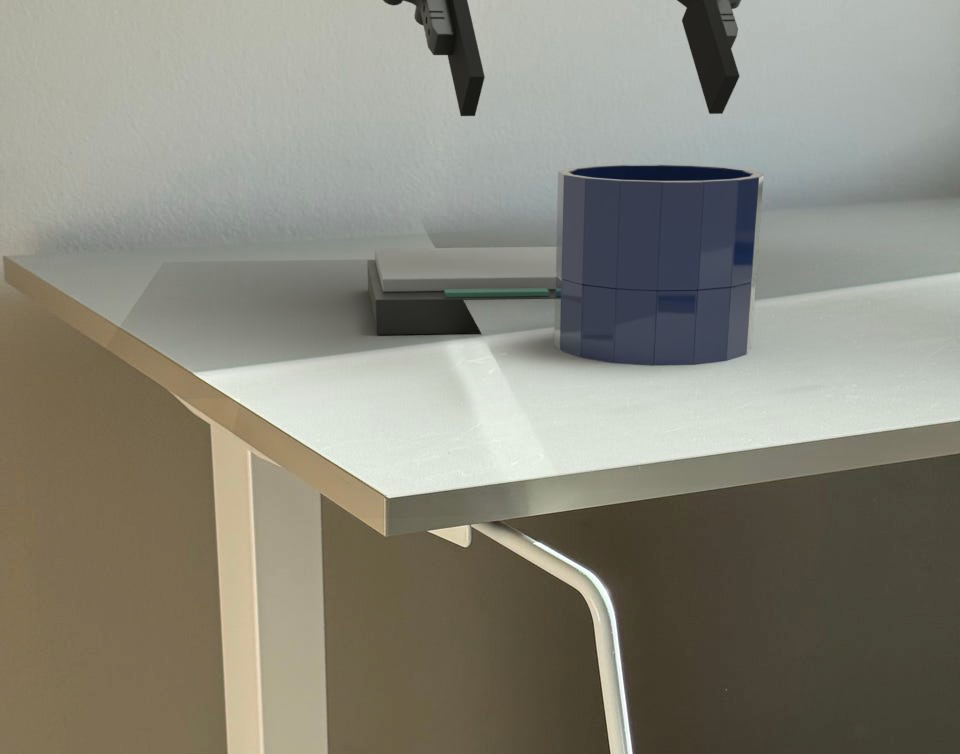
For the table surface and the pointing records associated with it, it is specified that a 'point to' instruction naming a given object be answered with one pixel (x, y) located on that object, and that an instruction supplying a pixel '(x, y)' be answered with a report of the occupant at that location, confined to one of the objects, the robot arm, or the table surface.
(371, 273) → the scale
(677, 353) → the faceted navy pot
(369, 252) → the table surface
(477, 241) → the table surface
